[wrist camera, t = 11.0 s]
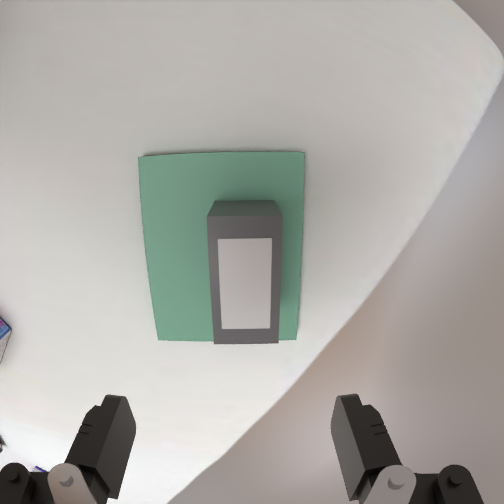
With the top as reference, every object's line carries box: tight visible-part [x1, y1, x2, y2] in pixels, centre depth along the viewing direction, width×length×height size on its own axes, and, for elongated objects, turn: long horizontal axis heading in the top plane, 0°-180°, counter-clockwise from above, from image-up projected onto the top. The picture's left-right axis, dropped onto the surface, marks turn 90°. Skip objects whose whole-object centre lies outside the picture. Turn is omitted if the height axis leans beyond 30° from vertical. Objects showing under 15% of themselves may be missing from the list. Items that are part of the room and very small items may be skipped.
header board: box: [138, 151, 305, 341], centre depth 27 cm, size 18×14×6 cm
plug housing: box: [207, 200, 283, 344], centre depth 26 cm, size 10×5×6 cm, turn 0°
